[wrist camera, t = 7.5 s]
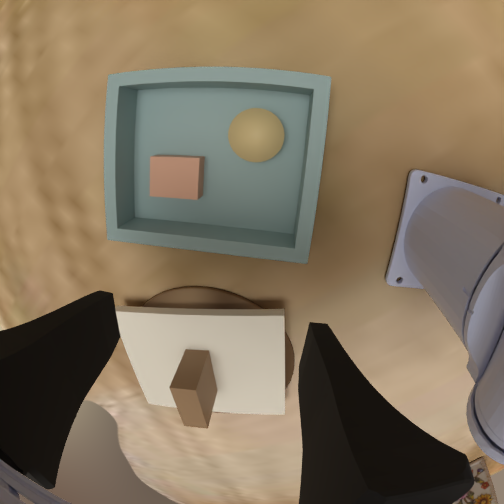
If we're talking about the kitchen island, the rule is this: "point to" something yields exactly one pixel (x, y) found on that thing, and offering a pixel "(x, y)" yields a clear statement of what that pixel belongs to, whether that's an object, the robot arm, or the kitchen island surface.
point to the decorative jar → (479, 486)
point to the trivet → (214, 300)
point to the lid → (207, 359)
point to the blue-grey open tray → (215, 159)
